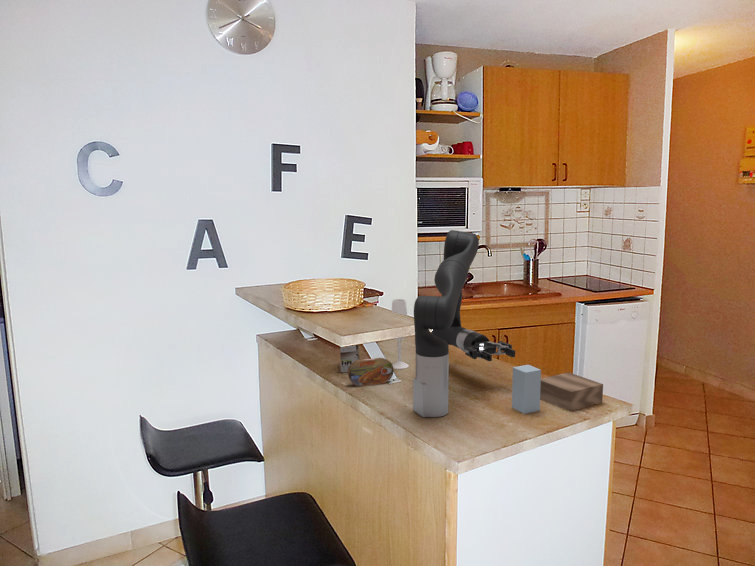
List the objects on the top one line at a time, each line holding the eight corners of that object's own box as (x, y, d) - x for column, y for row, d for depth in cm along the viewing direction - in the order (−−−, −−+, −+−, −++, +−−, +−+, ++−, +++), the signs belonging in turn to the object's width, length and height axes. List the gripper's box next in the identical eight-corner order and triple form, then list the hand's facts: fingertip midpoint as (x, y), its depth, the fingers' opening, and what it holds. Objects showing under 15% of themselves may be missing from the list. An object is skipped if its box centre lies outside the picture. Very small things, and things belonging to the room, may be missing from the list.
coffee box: (358, 372, 198) (357, 327, 196) (340, 372, 198) (339, 327, 196) (360, 364, 207) (359, 321, 205) (342, 364, 207) (341, 321, 205)
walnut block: (570, 412, 161) (571, 392, 160) (537, 398, 172) (537, 379, 171) (602, 403, 167) (603, 384, 166) (567, 390, 178) (568, 372, 177)
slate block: (524, 413, 159) (525, 372, 158) (511, 407, 164) (512, 367, 163) (539, 410, 162) (541, 369, 160) (527, 404, 167) (528, 364, 165)
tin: (349, 387, 183) (348, 362, 182) (347, 384, 186) (346, 359, 185) (394, 382, 187) (393, 358, 186) (391, 380, 190) (390, 355, 189)
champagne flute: (412, 365, 205) (412, 300, 202) (400, 369, 201) (399, 302, 197) (398, 362, 210) (398, 297, 206) (386, 366, 205) (385, 300, 201)
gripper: (453, 334, 183) (482, 347, 168) (490, 329, 188) (522, 340, 174) (453, 357, 184) (482, 371, 169) (490, 350, 190) (521, 364, 175)
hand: (502, 356), depth 172 cm, fingers open, 8 cm apart
